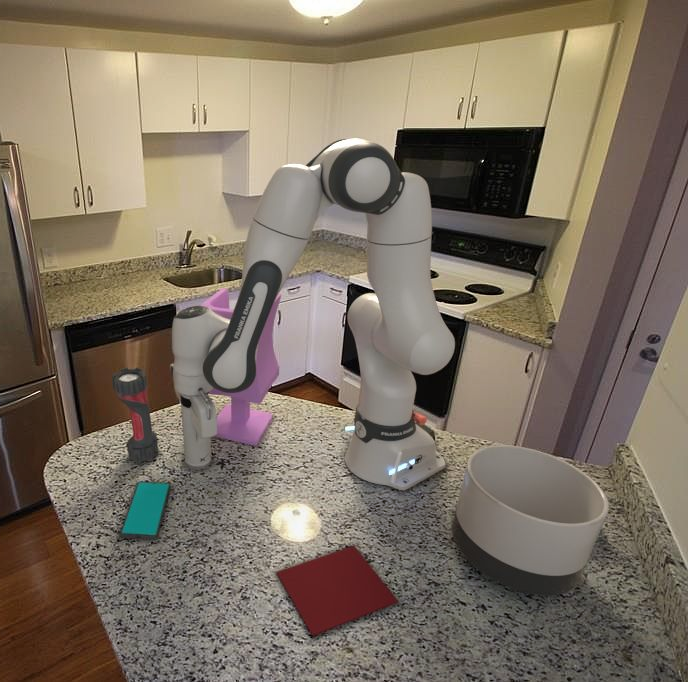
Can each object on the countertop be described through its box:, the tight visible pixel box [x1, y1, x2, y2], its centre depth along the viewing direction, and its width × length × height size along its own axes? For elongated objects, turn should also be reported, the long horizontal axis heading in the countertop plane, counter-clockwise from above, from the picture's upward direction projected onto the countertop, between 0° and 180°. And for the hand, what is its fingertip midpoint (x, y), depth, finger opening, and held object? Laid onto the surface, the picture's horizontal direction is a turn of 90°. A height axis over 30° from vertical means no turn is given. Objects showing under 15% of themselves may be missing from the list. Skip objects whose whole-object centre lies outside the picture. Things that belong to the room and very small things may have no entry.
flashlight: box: [111, 366, 160, 464], centre depth 108 cm, size 8×8×23 cm
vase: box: [200, 287, 282, 447], centre depth 116 cm, size 16×16×35 cm
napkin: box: [276, 545, 399, 637], centre depth 79 cm, size 16×12×1 cm
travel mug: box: [180, 392, 212, 471], centre depth 106 cm, size 6×7×20 cm
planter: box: [451, 444, 610, 597], centre depth 80 cm, size 19×19×18 cm
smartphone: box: [119, 481, 171, 541], centre depth 96 cm, size 7×1×15 cm
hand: (195, 431), depth 107 cm, fingers closed on travel mug, 6 cm apart
